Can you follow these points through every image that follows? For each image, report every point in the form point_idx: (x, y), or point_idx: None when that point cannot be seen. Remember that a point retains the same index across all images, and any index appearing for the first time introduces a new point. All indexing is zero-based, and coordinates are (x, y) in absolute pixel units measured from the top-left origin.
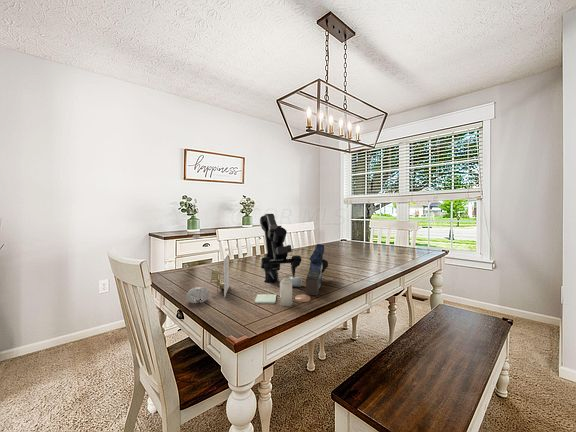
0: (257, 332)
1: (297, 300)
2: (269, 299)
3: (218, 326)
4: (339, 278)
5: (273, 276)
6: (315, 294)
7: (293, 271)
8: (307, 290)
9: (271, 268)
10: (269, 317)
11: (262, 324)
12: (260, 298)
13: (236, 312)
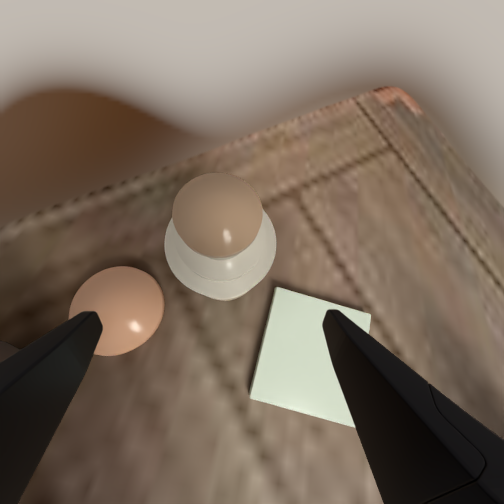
0: (352, 105)
1: (160, 288)
2: (299, 324)
3: (459, 165)
4: None
5: (346, 319)
6: (12, 347)
7: (27, 365)
8: None
9: (461, 438)
10: (313, 172)
11: (338, 137)
12: None
13: (427, 243)
